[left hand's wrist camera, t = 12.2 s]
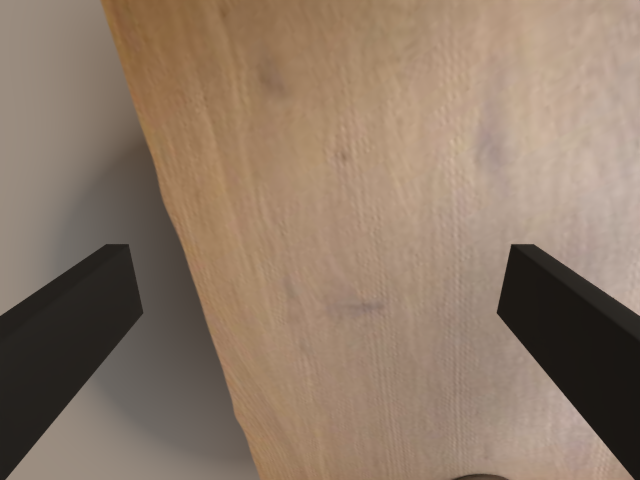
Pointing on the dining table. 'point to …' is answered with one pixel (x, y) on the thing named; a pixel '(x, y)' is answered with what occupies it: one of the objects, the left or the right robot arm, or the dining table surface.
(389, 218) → the dining table surface
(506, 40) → the dining table surface
